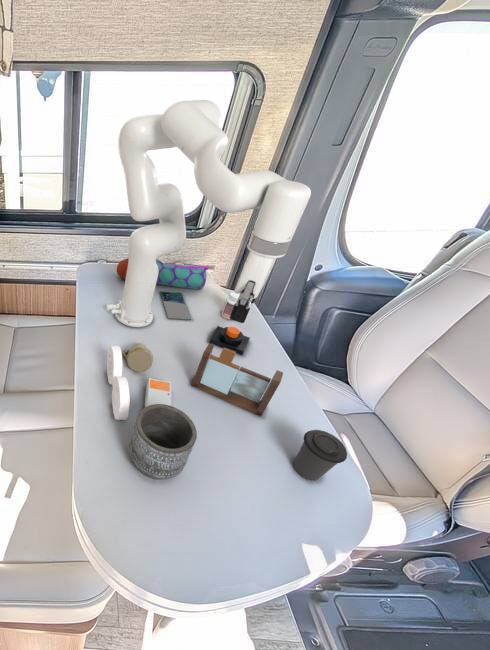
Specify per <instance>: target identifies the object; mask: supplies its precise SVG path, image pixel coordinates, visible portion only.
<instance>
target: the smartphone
mask: <svg viewBox="0 0 490 650" xmlns="http://www.w3.org/2000/svg"><path fill="white" fill-rule="evenodd" d="M160 297H161V300H162V303H163V306H164V310H165V313H166V316H167V319H170V320H173V319H174V320H189V321H191V320H192V318H191V315H190V313H189V310H188V307H187V304H186V303H185V302H186V301H185V300H184V297H183V294H182V292H173V291H172V292H171V291H160Z"/></svg>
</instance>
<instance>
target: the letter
mask: <svg viewBox="0 0 490 650" xmlns="http://www.w3.org/2000/svg"><path fill="white" fill-rule="evenodd" d="M106 371H107V372H106V374H107V381H108V384H109V385H112V391H111V403H112V404H111V407H112V413H113V417H114V419H115V420H117V421H125V420H128V418H129V413H130V405H131V403H130V402H131V401H130V399H131V398H130V386H129V382H128V379H127V377H125V376H123V352H122V349H121V347H120V346H119V345H110V346H109V347H108V351H107V357H106Z"/></svg>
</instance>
